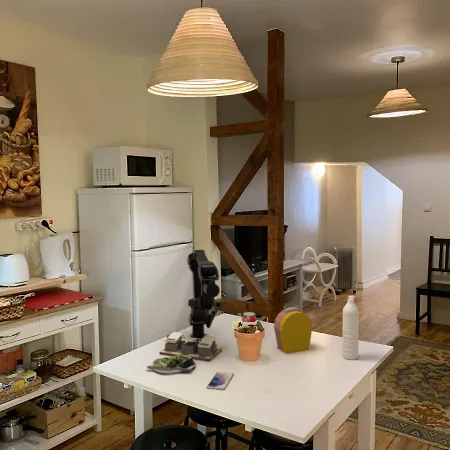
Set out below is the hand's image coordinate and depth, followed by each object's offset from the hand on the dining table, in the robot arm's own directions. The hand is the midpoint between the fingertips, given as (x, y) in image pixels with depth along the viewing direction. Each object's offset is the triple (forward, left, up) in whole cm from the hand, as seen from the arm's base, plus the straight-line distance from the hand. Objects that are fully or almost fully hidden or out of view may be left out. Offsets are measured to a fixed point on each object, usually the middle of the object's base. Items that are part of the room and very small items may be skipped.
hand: (208, 327), depth 203 cm
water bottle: (-18, +58, -11) cm, 61 cm away
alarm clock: (-18, +33, -11) cm, 39 cm away
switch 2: (+3, +1, -5) cm, 6 cm away
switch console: (+3, -7, -11) cm, 14 cm away
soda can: (-25, +10, -11) cm, 29 cm away
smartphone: (+25, +17, -12) cm, 33 cm away
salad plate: (+19, -6, -12) cm, 23 cm away
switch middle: (+3, -7, -5) cm, 9 cm away
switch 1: (+3, -15, -5) cm, 16 cm away
